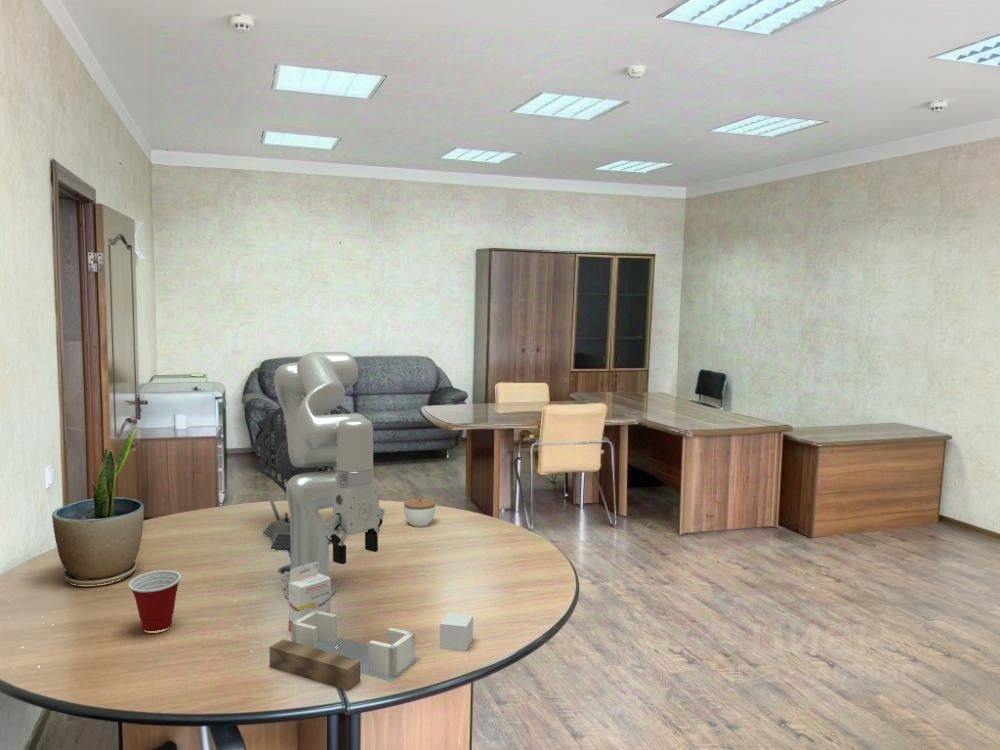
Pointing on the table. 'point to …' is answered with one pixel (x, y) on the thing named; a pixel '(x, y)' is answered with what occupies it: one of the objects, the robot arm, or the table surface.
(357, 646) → the mat
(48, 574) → the table surface
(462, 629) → the gray cube
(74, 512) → the potted plant
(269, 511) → the table surface
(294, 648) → the brown wooden block
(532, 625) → the table surface
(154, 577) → the plastic cup
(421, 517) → the lidded jar
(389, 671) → the end cap
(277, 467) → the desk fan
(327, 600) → the ink cartridge box
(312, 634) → the end cap
